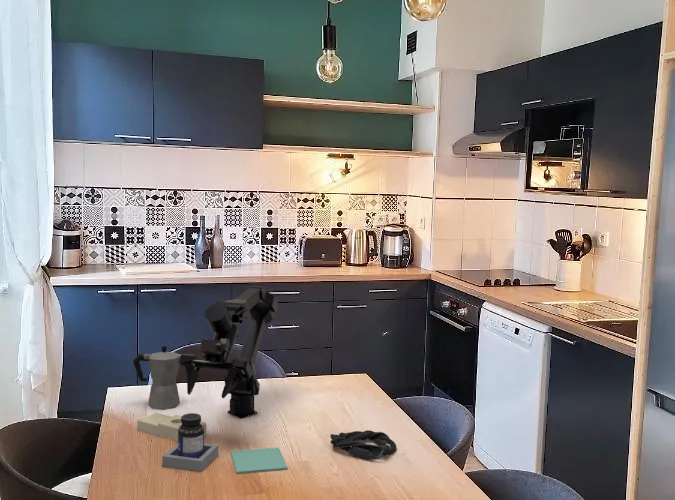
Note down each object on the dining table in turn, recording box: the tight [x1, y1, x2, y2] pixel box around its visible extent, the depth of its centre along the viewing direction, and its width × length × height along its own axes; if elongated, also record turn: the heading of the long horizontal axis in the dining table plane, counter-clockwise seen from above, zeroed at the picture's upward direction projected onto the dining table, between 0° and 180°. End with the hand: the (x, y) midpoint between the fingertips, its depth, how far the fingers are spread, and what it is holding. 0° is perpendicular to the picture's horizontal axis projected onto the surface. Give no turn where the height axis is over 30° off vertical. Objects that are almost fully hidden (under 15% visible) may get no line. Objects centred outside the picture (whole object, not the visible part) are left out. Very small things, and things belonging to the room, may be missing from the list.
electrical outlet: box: [136, 412, 207, 442], centre depth 176 cm, size 7×4×18 cm
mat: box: [230, 447, 289, 475], centre depth 160 cm, size 12×12×1 cm
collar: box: [161, 442, 219, 472], centre depth 159 cm, size 10×10×2 cm
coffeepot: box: [132, 345, 182, 411], centre depth 197 cm, size 15×9×18 cm, turn 103°
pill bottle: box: [177, 412, 205, 459], centre depth 159 cm, size 6×6×11 cm
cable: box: [329, 430, 397, 461], centre depth 170 cm, size 17×14×4 cm
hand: (205, 395), depth 166 cm, fingers open, 9 cm apart
